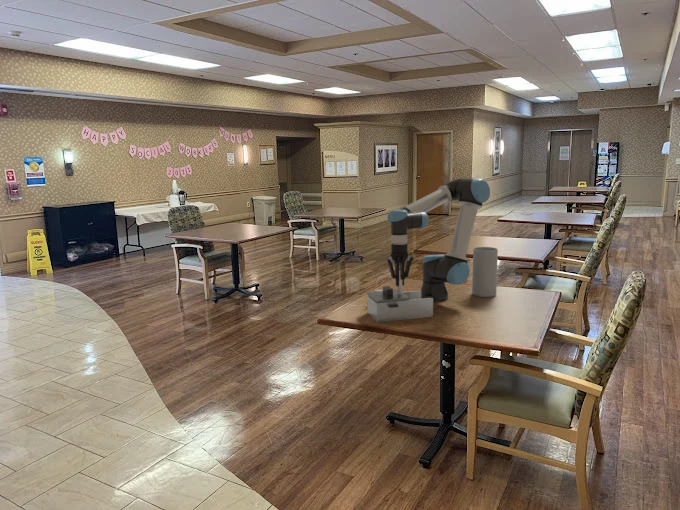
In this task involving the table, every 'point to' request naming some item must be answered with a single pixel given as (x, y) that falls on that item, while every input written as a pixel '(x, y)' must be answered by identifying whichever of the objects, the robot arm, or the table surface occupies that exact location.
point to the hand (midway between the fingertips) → (399, 292)
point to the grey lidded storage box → (401, 308)
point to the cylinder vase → (484, 271)
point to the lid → (387, 295)
